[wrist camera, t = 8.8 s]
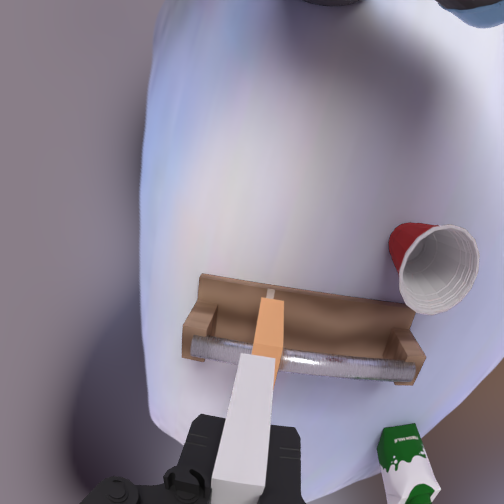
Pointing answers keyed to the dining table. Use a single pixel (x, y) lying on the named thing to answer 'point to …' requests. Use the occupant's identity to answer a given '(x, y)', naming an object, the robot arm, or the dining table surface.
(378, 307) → the pipe stand
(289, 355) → the steel pipe
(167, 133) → the dining table surface
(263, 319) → the collar
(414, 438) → the milk carton
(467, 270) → the plastic cup
